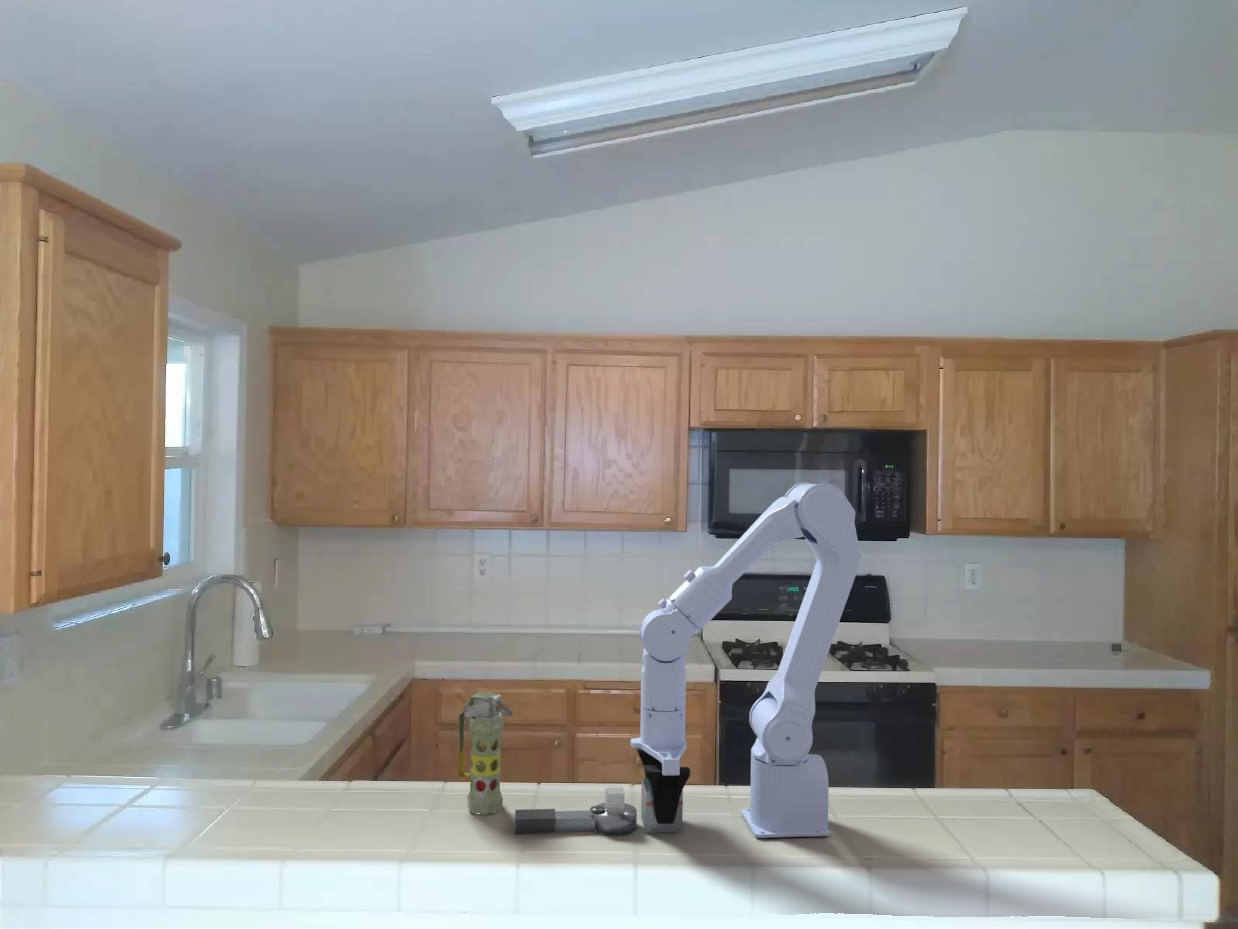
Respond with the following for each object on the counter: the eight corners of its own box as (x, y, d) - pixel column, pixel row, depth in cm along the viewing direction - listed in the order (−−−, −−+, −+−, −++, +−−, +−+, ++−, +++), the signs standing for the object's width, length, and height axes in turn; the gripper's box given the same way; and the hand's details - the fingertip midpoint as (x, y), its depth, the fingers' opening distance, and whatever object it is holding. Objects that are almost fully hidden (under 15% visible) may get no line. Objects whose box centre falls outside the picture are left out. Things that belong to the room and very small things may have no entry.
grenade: (498, 816, 111) (500, 700, 112) (449, 811, 113) (451, 697, 113) (513, 798, 118) (515, 688, 118) (467, 793, 119) (469, 685, 119)
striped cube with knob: (676, 817, 112) (676, 771, 112) (682, 832, 108) (683, 784, 108) (640, 818, 112) (641, 772, 112) (645, 833, 107) (646, 785, 107)
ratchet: (633, 816, 112) (634, 782, 112) (639, 835, 106) (639, 798, 106) (515, 819, 111) (516, 784, 111) (514, 838, 105) (515, 801, 105)
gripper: (625, 691, 116) (624, 791, 116) (638, 723, 102) (637, 837, 102) (677, 690, 117) (675, 790, 117) (697, 722, 103) (695, 836, 103)
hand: (661, 812), depth 110 cm, fingers open, 6 cm apart
